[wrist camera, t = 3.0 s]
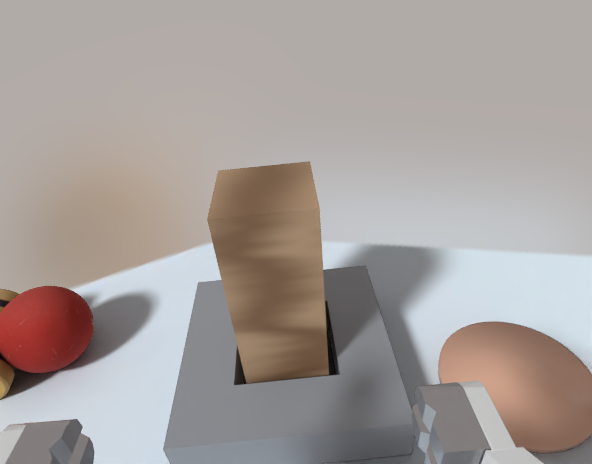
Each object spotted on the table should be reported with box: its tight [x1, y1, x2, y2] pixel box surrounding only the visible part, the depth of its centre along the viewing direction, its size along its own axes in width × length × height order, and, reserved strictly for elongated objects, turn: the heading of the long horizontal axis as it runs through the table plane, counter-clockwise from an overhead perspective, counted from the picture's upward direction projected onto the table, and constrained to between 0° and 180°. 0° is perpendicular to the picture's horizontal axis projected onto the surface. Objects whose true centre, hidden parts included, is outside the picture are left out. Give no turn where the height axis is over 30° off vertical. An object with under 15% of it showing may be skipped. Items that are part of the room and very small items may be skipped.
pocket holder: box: [163, 266, 414, 464], centre depth 27 cm, size 13×13×3 cm
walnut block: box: [207, 162, 329, 384], centre depth 24 cm, size 5×5×14 cm
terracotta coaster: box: [438, 322, 592, 453], centre depth 26 cm, size 9×9×1 cm
